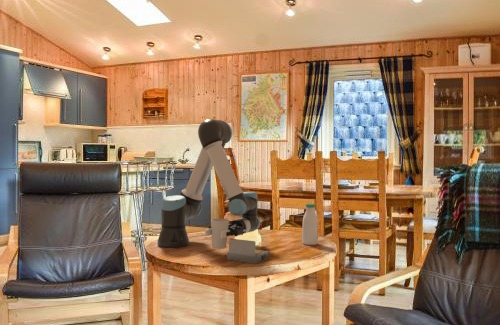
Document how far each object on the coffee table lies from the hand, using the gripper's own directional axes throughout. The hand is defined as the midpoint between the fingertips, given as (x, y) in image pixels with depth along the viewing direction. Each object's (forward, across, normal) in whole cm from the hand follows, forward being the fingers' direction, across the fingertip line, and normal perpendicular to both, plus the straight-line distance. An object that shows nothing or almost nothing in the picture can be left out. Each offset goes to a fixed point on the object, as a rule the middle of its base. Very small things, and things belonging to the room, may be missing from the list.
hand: (213, 233), depth 207 cm
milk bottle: (-51, -25, -10) cm, 58 cm away
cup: (-5, 0, -7) cm, 8 cm away
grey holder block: (-6, -14, -10) cm, 18 cm away
